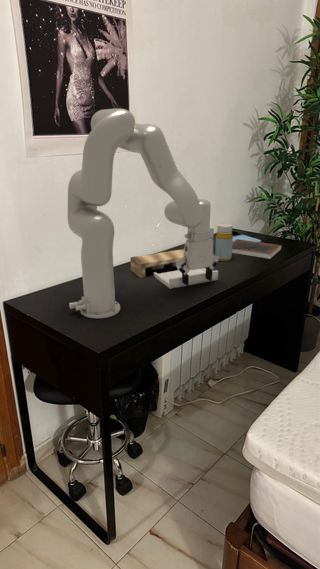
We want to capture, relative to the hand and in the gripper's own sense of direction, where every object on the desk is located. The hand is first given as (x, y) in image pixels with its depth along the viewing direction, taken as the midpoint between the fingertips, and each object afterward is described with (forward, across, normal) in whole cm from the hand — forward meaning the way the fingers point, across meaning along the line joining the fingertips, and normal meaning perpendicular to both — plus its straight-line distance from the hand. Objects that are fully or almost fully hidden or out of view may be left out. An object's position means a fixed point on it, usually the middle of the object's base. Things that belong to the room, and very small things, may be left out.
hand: (197, 281), depth 149 cm
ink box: (+2, +24, +36) cm, 44 cm away
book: (+2, +45, +26) cm, 52 cm away
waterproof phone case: (+2, +51, +42) cm, 66 cm away
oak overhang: (+2, 0, +21) cm, 21 cm away
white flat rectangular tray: (+2, 0, +9) cm, 9 cm away
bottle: (+2, +26, +21) cm, 33 cm away
